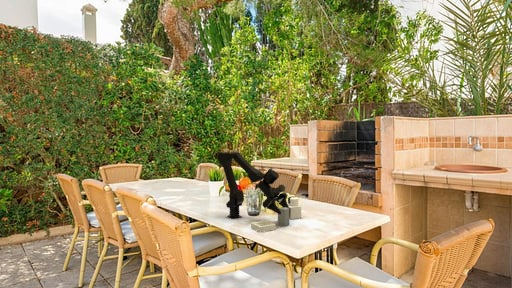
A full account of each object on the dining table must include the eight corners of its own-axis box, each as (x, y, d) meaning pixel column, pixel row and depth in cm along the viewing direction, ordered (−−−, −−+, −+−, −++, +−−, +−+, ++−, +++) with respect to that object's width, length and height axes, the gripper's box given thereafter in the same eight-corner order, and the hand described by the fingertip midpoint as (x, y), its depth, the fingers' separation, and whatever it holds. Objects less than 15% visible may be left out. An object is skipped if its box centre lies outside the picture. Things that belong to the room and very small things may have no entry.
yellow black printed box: (284, 216, 205) (284, 196, 205) (295, 215, 208) (295, 195, 207) (290, 219, 199) (290, 198, 198) (301, 218, 201) (301, 197, 201)
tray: (251, 228, 182) (250, 223, 182) (265, 225, 187) (265, 220, 187) (260, 232, 174) (260, 227, 174) (275, 229, 179) (275, 224, 179)
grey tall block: (277, 225, 187) (277, 208, 186) (282, 223, 191) (281, 206, 190) (285, 226, 184) (285, 209, 184) (289, 224, 188) (289, 207, 188)
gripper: (266, 182, 181) (285, 205, 175) (284, 178, 197) (302, 199, 191) (254, 196, 186) (272, 219, 180) (272, 190, 201) (289, 212, 196)
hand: (284, 212), depth 187 cm, fingers open, 9 cm apart
